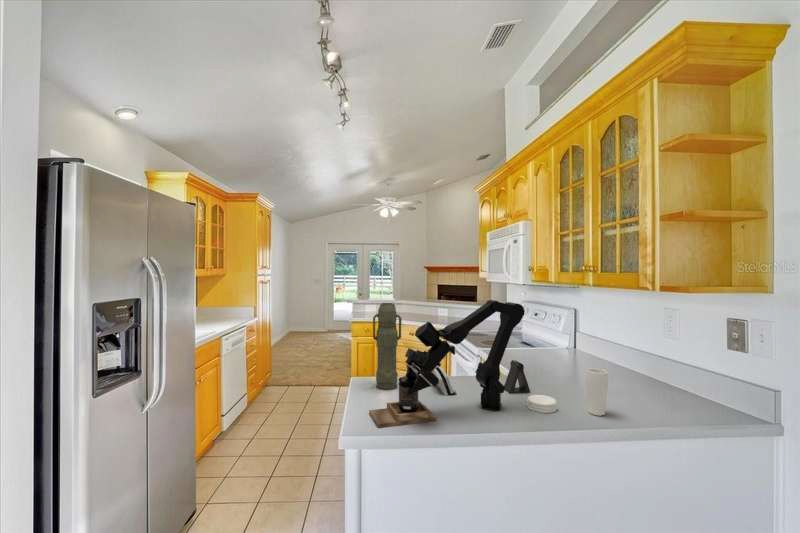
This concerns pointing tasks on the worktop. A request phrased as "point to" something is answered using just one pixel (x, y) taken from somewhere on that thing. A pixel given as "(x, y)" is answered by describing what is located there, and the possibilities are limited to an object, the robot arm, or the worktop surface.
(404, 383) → the supplement container
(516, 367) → the phone stand
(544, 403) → the coaster
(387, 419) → the board
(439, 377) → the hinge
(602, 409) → the drinking glass
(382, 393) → the worktop surface
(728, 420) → the worktop surface
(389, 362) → the thermos
